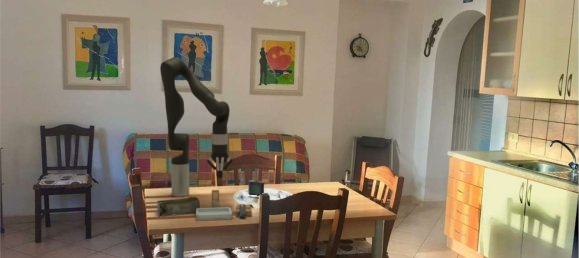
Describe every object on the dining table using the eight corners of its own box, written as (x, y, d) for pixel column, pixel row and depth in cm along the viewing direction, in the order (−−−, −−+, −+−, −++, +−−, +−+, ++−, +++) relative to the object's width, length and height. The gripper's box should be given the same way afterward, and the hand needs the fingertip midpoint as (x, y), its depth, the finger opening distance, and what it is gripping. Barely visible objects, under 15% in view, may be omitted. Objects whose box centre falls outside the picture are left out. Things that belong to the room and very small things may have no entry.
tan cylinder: (211, 207, 231) (211, 189, 230) (219, 207, 232) (219, 189, 231) (211, 209, 228) (211, 191, 227) (219, 209, 228) (219, 191, 227)
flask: (247, 197, 252) (247, 177, 251) (250, 195, 255) (250, 176, 253) (262, 199, 248) (263, 179, 247) (265, 198, 251) (265, 178, 249)
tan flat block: (235, 211, 228) (235, 205, 227) (250, 211, 229) (250, 205, 228) (236, 217, 218) (236, 211, 218) (251, 217, 219) (251, 211, 218)
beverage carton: (156, 212, 223) (156, 198, 222) (197, 208, 230) (197, 195, 229) (159, 217, 215) (158, 203, 215) (200, 213, 223) (200, 199, 222)
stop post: (239, 216, 218) (239, 204, 217) (245, 216, 218) (245, 204, 218) (239, 218, 215) (239, 206, 214) (246, 218, 216) (246, 205, 215)
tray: (196, 213, 222) (196, 208, 222) (230, 212, 225) (230, 207, 224) (195, 220, 211) (195, 215, 211) (231, 219, 214) (231, 214, 214)
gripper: (206, 144, 222) (206, 180, 225) (234, 143, 225) (233, 179, 227) (205, 141, 230) (205, 176, 232) (232, 141, 232) (232, 176, 234)
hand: (219, 177), depth 229 cm, fingers closed
